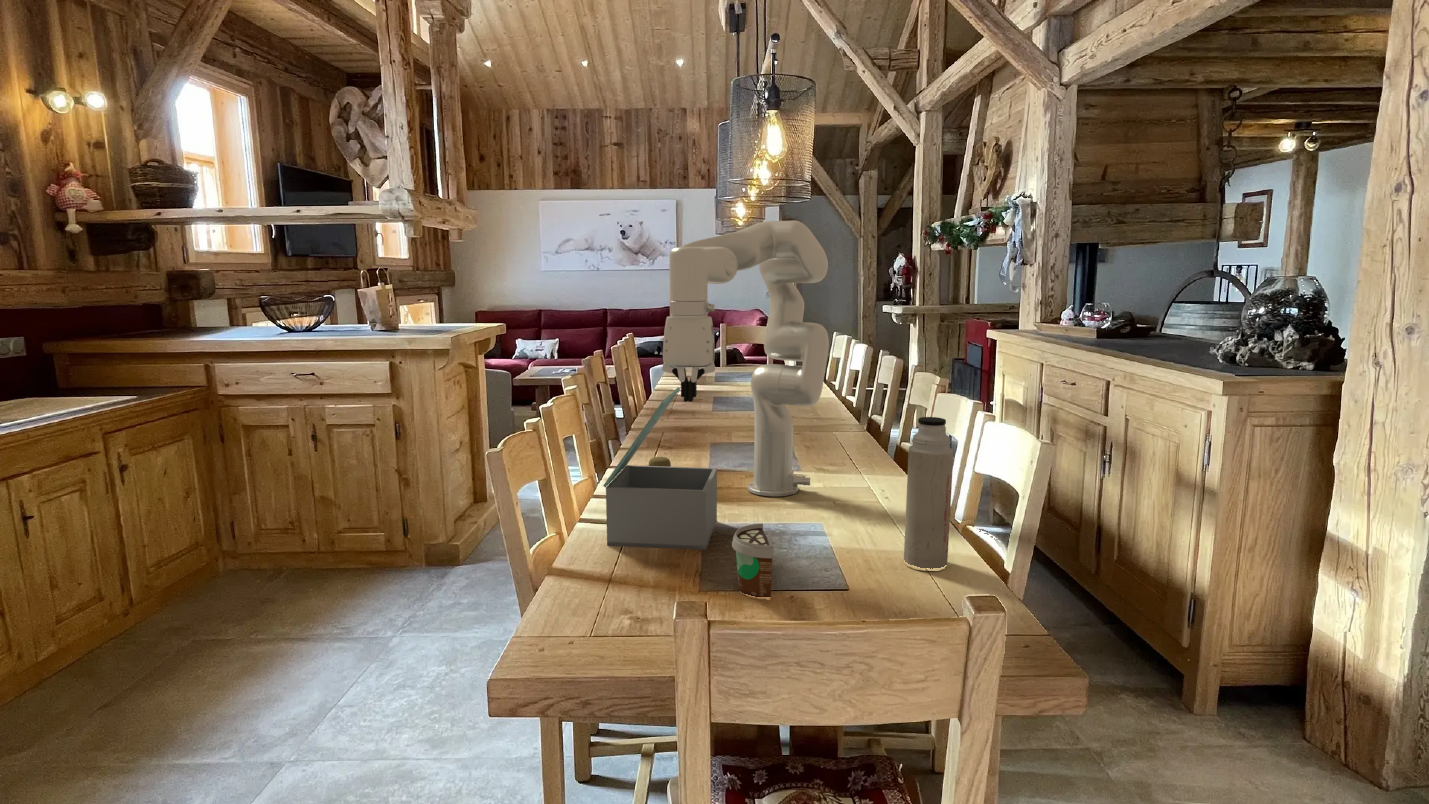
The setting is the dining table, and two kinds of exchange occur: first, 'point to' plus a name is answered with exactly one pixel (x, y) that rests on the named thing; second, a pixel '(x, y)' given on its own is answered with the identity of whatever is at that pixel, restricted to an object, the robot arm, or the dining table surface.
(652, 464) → the cork
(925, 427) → the thermos bottle
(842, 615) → the dining table surface
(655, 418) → the lid
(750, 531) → the food container
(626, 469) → the carton
